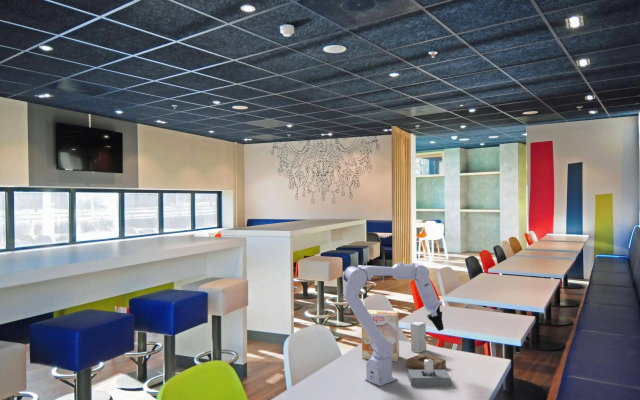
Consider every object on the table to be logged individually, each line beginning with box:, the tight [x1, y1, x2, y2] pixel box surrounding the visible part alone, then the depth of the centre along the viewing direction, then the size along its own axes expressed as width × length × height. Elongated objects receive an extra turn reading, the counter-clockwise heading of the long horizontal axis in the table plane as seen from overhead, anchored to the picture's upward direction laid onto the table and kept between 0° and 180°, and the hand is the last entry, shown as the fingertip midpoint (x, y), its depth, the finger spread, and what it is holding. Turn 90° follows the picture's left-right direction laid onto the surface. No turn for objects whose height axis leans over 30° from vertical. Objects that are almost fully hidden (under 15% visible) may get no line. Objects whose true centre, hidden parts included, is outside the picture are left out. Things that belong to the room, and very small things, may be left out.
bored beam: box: [407, 369, 452, 387], centre depth 171 cm, size 14×8×3 cm, turn 87°
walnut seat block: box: [405, 352, 447, 370], centre depth 185 cm, size 11×11×3 cm
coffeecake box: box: [361, 309, 400, 362], centre depth 198 cm, size 15×7×20 cm, turn 73°
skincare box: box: [410, 321, 427, 354], centre depth 206 cm, size 6×4×12 cm
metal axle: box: [424, 359, 433, 376], centre depth 171 cm, size 3×3×8 cm
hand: (440, 325), depth 178 cm, fingers open, 7 cm apart
